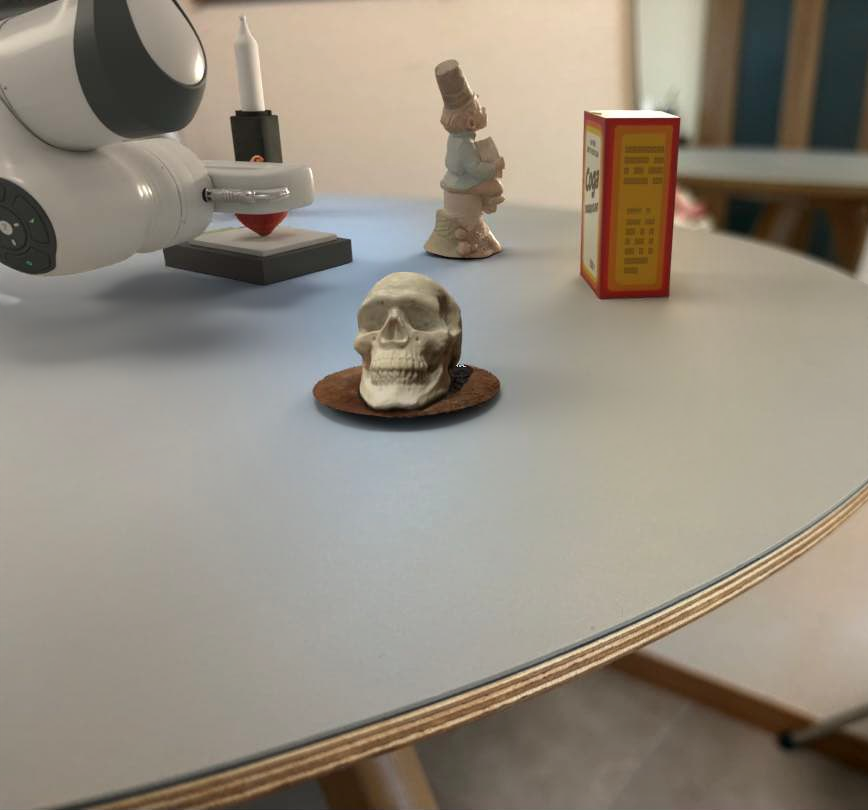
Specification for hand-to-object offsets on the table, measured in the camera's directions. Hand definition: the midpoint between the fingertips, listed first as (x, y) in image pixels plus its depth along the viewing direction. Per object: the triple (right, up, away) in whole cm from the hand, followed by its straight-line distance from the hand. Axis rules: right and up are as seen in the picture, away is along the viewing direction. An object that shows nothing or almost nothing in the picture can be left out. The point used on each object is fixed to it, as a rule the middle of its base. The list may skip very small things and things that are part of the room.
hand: (249, 173), depth 84 cm
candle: (-9, +3, +33) cm, 34 cm away
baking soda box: (+37, -12, -2) cm, 39 cm away
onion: (0, -6, +3) cm, 7 cm away
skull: (+20, -22, -29) cm, 42 cm away
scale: (0, -8, +4) cm, 9 cm away
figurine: (+21, -6, +10) cm, 24 cm away
